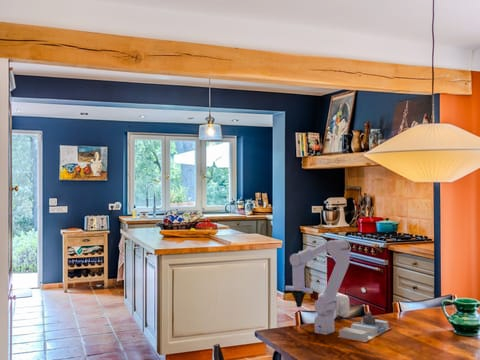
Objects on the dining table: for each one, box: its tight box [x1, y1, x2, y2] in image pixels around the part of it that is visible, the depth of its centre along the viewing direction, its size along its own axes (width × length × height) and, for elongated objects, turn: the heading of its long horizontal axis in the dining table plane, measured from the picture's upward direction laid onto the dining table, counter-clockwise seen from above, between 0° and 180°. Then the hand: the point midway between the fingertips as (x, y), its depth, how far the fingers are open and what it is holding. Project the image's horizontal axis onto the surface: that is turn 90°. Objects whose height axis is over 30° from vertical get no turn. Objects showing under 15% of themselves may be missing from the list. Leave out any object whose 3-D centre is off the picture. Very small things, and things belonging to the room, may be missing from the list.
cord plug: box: [362, 311, 376, 325], centre depth 221 cm, size 4×4×8 cm
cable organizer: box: [317, 292, 351, 320], centre depth 250 cm, size 15×11×12 cm
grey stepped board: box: [337, 318, 391, 343], centre depth 218 cm, size 26×13×4 cm, turn 139°
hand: (299, 306), depth 233 cm, fingers closed
